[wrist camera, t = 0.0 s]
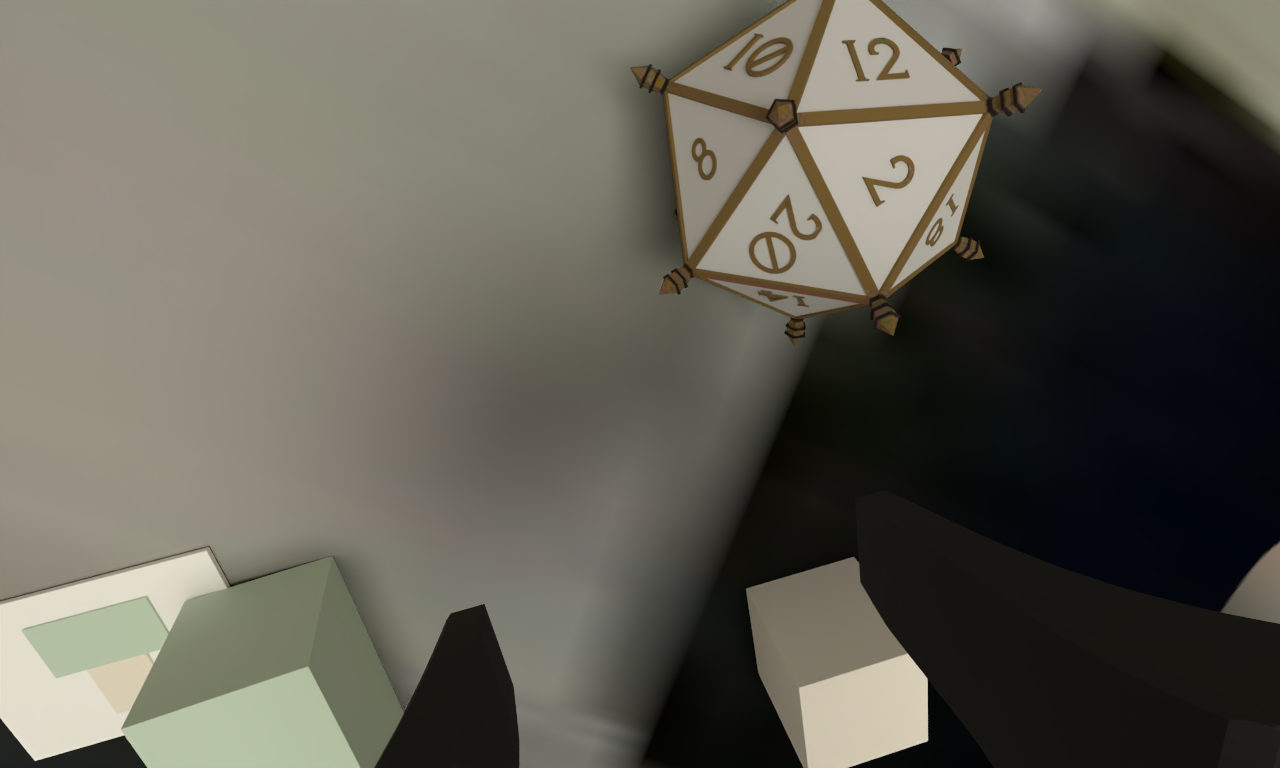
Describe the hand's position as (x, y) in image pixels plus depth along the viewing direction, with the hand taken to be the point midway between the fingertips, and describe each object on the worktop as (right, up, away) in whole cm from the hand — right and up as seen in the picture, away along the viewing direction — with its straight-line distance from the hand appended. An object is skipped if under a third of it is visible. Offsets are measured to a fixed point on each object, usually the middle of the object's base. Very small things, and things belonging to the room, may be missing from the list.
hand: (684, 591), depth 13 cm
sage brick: (-12, -6, +11) cm, 18 cm away
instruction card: (-18, -5, +9) cm, 20 cm away
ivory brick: (+6, -5, +15) cm, 17 cm away
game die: (+3, +11, +8) cm, 13 cm away
